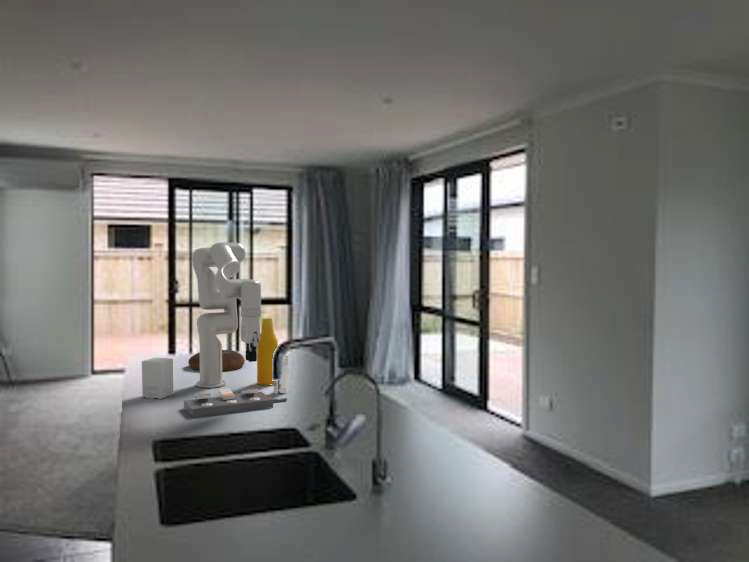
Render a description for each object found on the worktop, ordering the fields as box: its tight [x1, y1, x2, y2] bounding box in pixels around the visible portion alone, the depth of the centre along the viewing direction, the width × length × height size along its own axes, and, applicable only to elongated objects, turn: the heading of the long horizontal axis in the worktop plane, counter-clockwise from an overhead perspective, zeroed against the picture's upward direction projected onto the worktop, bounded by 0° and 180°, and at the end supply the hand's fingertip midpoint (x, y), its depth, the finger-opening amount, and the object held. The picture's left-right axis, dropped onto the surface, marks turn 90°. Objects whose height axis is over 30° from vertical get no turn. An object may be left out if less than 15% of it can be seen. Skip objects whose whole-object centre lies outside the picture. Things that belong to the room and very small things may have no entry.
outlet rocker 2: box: [240, 387, 259, 394], centre depth 243 cm, size 7×4×1 cm, turn 29°
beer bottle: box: [256, 317, 279, 386], centre depth 277 cm, size 9×9×29 cm
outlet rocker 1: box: [218, 387, 236, 400], centre depth 238 cm, size 7×4×1 cm, turn 29°
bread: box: [187, 349, 246, 372], centre depth 315 cm, size 28×27×9 cm
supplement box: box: [141, 357, 174, 400], centre depth 253 cm, size 9×9×15 cm
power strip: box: [183, 391, 288, 418], centre depth 238 cm, size 14×38×4 cm, turn 119°
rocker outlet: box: [194, 393, 212, 399], centre depth 234 cm, size 7×4×1 cm, turn 29°
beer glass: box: [272, 355, 290, 394], centre depth 261 cm, size 7×7×15 cm
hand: (251, 360), depth 240 cm, fingers open, 2 cm apart
